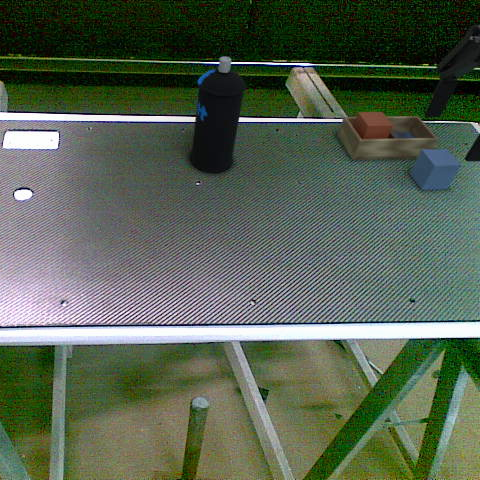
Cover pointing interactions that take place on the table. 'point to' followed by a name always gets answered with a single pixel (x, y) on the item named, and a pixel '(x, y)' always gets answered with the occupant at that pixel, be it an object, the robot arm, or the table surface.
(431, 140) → the tray
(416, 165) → the blue block
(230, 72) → the aerosol can
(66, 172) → the table surface
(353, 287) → the table surface
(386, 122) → the terracotta block
